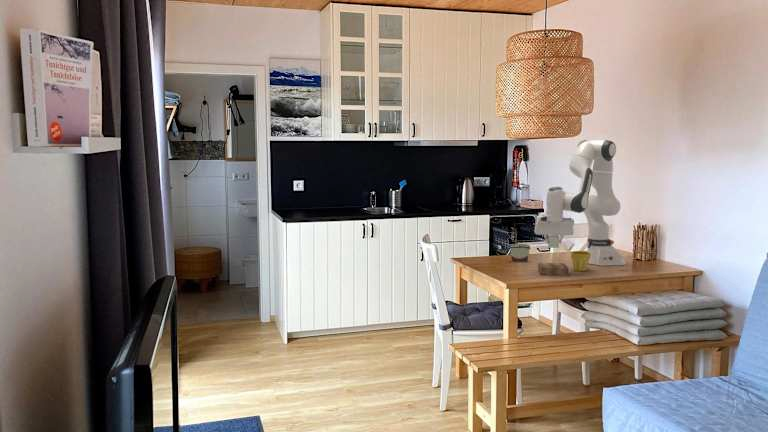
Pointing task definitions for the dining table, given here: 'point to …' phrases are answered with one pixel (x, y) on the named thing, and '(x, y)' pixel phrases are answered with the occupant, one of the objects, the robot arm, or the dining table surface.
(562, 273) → the walnut base
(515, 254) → the food container
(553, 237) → the sage block
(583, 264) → the plant pot
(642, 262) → the dining table surface
